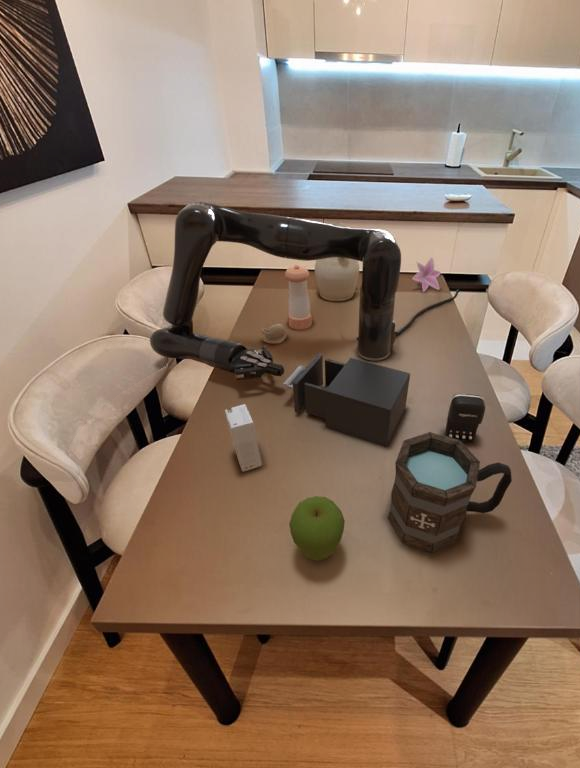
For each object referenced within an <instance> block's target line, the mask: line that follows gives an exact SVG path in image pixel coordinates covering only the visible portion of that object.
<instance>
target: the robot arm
mask: <svg viewBox="0 0 580 768" xmlns="http://www.w3.org/2000/svg"><path fill="white" fill-rule="evenodd" d="M217 242H222V243H223V242H225V243H236V244H242V245H246V246H250V247H252V248H254V249H256V250H259V251H261V252H263V253H265V254H268V255H271V256H274V257H278V258H283V259H288V260H295V261H301V262H302V261H303V262H305V261H306V262H309V261H316V260H319V259H326V258H333V257H341V258H348V259H353V260H358V262H361V263H362V270H361V272H362V273H361V285H360V288H359V305H358V306H359V307H358V332H357V337H356V341H357V349H356V353H357V355H358V356H359V357H360V358H361V359H364V360H366V361H371V362H379V361H383V360H386V359H387V358H388V357H390V355H391V354H393V350H394V344H395V339H396V336H399V335H401V334H402V333H403V332H404V331H405V330H407V328H409V327H410V326H411V325H412V324H413V322H414V321H415V320H416V318H418V317H419V316H420V315H421V314H423V313H425V312H426V311H428V310H431V309H433V308H435V307H437V306H440V305H443V304H445V303H448V302H451V301H453V300H455V299H456V298H457V297H458V295H459V293H460V290H459V289H456V291H455V294H454V295H453V296H452V297H450V298H447V299H444V300H441V301H439V302H436V303H434V304H432V305H429V306H427V307H425V308H423V309H422V310H419V311H418V312H417V313H416V314H415V315H414V316H412V318H411V319H410V320H409V322H408V323H407V324H406V325H404V327H403V328H401V329H400V330H399V331H396V323H395V322H394V315H395V314H394V313H395V302H396V294H397V291H398V289H399V283H400V274H401V266H402V251H401V248H400V246H399V244H398V242H397V240H396V238H395V237H394V236H393V235H392V234H391V233H390V232H388V231H387V230H383V229H376V228H375V229H374V228H354V227H353V228H352V227H347V228H344V227H338V226H334V225H331V224H329V223H323V222H319V221H313V220H307V219H304V218H303V219H302V218H297V217H289V216H282V215H275V214H267V213H259V212H257V213H256V212H247V211H243V210H238V209H237V210H236V209H233V208H229V207H226V206H222V205H218V204H215V203H211V202H207V201H203V200H197V201H192V202H190V203H188V204H187V205H185V206H184V207H183V208H182V209H181V210H180V211H179V212H178V214H177V215H176V217H175V220H174V251H173V253H174V254H173V262H172V269H171V273H170V279H169V282H168V287H167V291H166V295H165V299H164V305H163V309H162V317H163V319H164V321H166V322H167V324H170V325H168V326H165V327H161V328H159V329H157V330H155V331H154V332H152V334H151V335H150V336H149V344H150V346H151V349H152V350H153V351H154V352H155V353H156V354H158V355H159V356H161V357H165V358H168V359H178V360H179V359H180V360H193V361H194V362H198V363H202V364H204V365H207V366H209V367H211V368H215V369H218V370H221V371H225V372H228V373H231V374H234V375H235V380H236V381H239V382H240V381H246V380H254V379H261V378H262V376H263V375H270V376H273V377H282V376H283V375H284V374H285V367H284V366H283V365H282V364H279V363H276V362H274V359H273V357H274V356H273V355H272V353H271V352H270V351H269V349H268V348H267V346H265V345H263V346H261V349H257V350H256V349H252V348H251V349H250V348H249V349H248V348H247V347H245V345H244V344H243V343H239V342H235V341H231V340H228V339H224V338H220V337H213V336H209V335H206V334H202V333H194V322H193V317H194V314H195V310H196V306H197V304H198V303H197V301H198V297H199V291H200V290H199V289H200V280H201V275H202V271H203V268H204V265H205V262H206V260H207V258H208V256H209V254H210V252H211V250H212V248H213V246H214V245H215V244H216V243H217Z"/></svg>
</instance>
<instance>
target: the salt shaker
mask: <svg viewBox="0 0 580 768" xmlns="http://www.w3.org/2000/svg"><path fill="white" fill-rule="evenodd" d="M284 277H285V279H287V281H288V300H287V301H288V303H287V305H288V306H287V307H288V314H287V318H288V326H289V327H290V328H291V329H293V330H301V331H302V330H306V329H309V328H311V327H312V325H313V320H312V318H313V317H312V312H311V302H310V298H309V291H308V279H309V278H310V271H309V269H307V267H304V266H303V265H302V266H301V265H299V264H295V265H293V266H290V267H288V268H287V269H286V270H285V272H284Z"/></svg>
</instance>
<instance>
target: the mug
mask: <svg viewBox="0 0 580 768" xmlns="http://www.w3.org/2000/svg"><path fill="white" fill-rule="evenodd" d="M394 464H395V476H394V483H393V486H392V490H391V494H390V497H391V498H390V500H391V501H390V508H389V513H388V515H387V520H388V522H389V524H390V525H391V527H392V528H393V530H394V532H395V534H396V535H397V537H398V539H399V540H400V541H401V543H402V544H405V545H407V546H410V547H413V548H416V549H419V550H422V551H425V552H427V553H431V554H433V553H435V552H438V551H440V550H441V549H444V548H446V547H449V546H451V545H453V544H455V543H457V542H458V537H459V532H460V529H461V526H462V524H463V522H464V520H465V518H466V516H467V512H473V513H478V514H486V513H491V512H493V511H494V510H495V509H496V508H498V507H499V505H500V504H501V502H502V500H503V498H504V496H505V494H506V491H507V490H508V488H509V486H510V485H511V483H512V480H513V478H512V470H511V467H510V466H509V465H507V464H504V463H501V462H494V463H490V464H487V465H486V466H484V467H482V468H481V469H480V465H481V461H480V460H479V459H478V458H477V456H475V455H474V454H473V452H472V451H471V450H470V449H469V448H468V447H467V446H466V445H465V443H464V442H461V441H460V440H457V439H454V438H450V437H446V436H445V435H442V434H439V433H436V432H431V431H429V432H425V433H423V434H420V435H417V436H414V437H411V438H408V439H407V438H406V439H404V440H403V442H402V444H401V447H400V449H399V452H398V454H397V458H396V459H395V463H394ZM499 474H503V475H502V477H501V478H500V480H499V481H498V483H497V485H496V488H495V490H494V492H493V495H492V496H491V497H490V498H489V499H488V500H487V501H483V502H476V501H471V500H470V499H471V497H472V495H473V493H474V492H475V490H476V488H477V483H478V482H482V481H484V480H487V479H489V478H491V477H492V476H494V475H499Z"/></svg>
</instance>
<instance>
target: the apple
mask: <svg viewBox="0 0 580 768" xmlns="http://www.w3.org/2000/svg"><path fill="white" fill-rule="evenodd" d="M288 525H289V531H290V535H291V539H292V540H293V543H294V544H295V546H297V548H298V549H299V550H300V552H301V553H303V555H304V556H305V558H308V559H310V560H313V561H323V560H326V559H327V558H329V557H330V556H331V555H332V554H333V553H334V552H335V551H336V550H337V549H338V546H339V545H340V543H341V540H342V538H343V534H344V530H345V517H344V514H343V512H342V510H341V509H340V508H339V506H338V505H337V504H336V503H335V502H334V500H332V499H330V498H328V497H326V496H319V495H318V496H317V495H315V496H311V497H307V498H305V499H303V500H301V501H299V502H298V504H297V505H296V507H295V508H294V510H293V511H292V514H291V517H290V520H289V524H288Z"/></svg>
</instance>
